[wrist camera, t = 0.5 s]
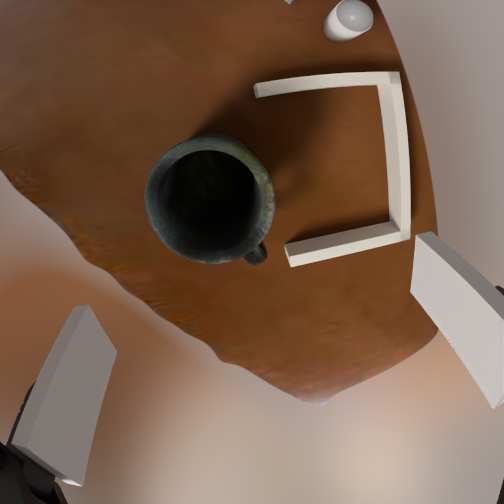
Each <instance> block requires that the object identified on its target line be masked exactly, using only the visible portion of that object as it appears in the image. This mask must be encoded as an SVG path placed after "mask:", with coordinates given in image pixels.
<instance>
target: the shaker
mask: <svg viewBox="0 0 504 504" xmlns="http://www.w3.org/2000/svg"><path fill="white" fill-rule="evenodd" d="M372 24H373V13H372V11H371V9H370V8H369V6H368V5H367V4H365V3H364V2H362V1H359V0H343V1H341V2H340V3H339V4H338V5H337V6H336V7H335V8H334V9H333V10H332V11H331V12H330V13H329V15H328V16H327V17H326V18H325V19H324V21H323V23H322V31H323V33H324V35H325V36H326V37H327V38H328V39H330V40H331V41H333V42H336V43H345V42H347V41H349V40H351V39H353V38H355V37H356V36H358V35H360V34H362V33H364V32H365V31H367V30H369V29H370V28H371V26H372Z"/></svg>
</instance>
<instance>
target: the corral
mask: <svg viewBox="0 0 504 504" xmlns="http://www.w3.org/2000/svg"><path fill="white" fill-rule="evenodd" d="M362 85H377V87H378V93H379V99H380V106H381V113H382V121H383V129H384V138H385V148H386V160H387V173H388V192H389V222H385V223H380V224H376V225H371V226H366V227H362V228H357V229H353V230H348V231H344V232H339V233H334V234H330V235H325V236H321V237H316V238H311V239H307V240H302V241H298V242H293V243H289V244H284V245H285V251H286V255H287V258H288V261H289V263H290V266H291V267H294V266H298V265H303V264H307V263H312V262H316V261H320V260H325V259H329V258H333V257H338V256H342V255H346V254H350V253H355V252H359V251H363V250H367V249H371V248H376V247H380V246H384V245H388V244H392V243H396V242H400V241H404V240H408V239H410V215H411V197H410V165H409V148H408V136H407V126H406V116H405V108H404V100H403V93H402V87H401V81H400V75H399V72H354V73H337V74H324V75H314V76H304V77H296V78H288V79H281V80H274V81H268V82H262V83H256V84H255V85H254V86H253V87H254V92H255V96H256V98H260V97H266V96H271V95H278V94H284V93H291V92H298V91H306V90H314V89H324V88H334V87H347V86H362Z"/></svg>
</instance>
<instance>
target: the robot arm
mask: <svg viewBox="0 0 504 504" xmlns="http://www.w3.org/2000/svg"><path fill="white" fill-rule="evenodd" d="M410 292H411V293H412V294H413V296H414V297H415V298H416V299H417V301H418V302H419V303H420V304H421V306H422V307H423V308H424V310H425V311H426V312H427V314H428V315H429V316H430V317H431V319H432V320H433V321H434V323H435V324H436V325H437V327H438V328H439V329H440V331H441V332H442V333H443V335H444V336H445V338H446V339H447V340H448V341H449V343H450V344H451V346H452V347H453V349H454V350H455V352H456V353H457V355H458V356H459V357H460V359H461V360H462V362H463V363H464V365H465V366H466V367H467V369H468V371H469V372H470V374H471V375H472V377H473V378H474V380H475V381H476V383H477V384H478V386H479V387H480V389H481V390H482V392H483V394H484V395H485V397H486V399H487V400H488V402H489V404H490V405H491V407H492V409H494V408H496V407H498V406H499V405H500V404H502V403H503V402H504V289H503V288H501V287H500V286H496V287H494V286H493V285H492V284H491V283H490V282H489V281H488V280H487V279H485V277H484V276H482V275H481V274H480V273H479V272H478V271H477V270H476V269H475V268H474V267H472V266H471V265H470V264H469V263H468V262H467V261H466V260H465V259H463V258H462V257H461V256H460V255H459V254H458V253H457V252H455V251H454V250H453V249H452V248H451V247H449V246H448V245H447V244H446V243H445V242H443V241H442V240H441V239H440V238H439V237H437V236H436V235H435V234H434V233H432V232H431V231H430V232H426V233H422V234H418V235H416V241H415V254H414V264H413V274H412V282H411V290H410ZM116 355H117V351H116V349H115V348H114V346H113V345H112V343H111V341H110V340H109V338H108V337H107V335H106V333H105V332H104V330H103V329H102V327H101V325H100V324H99V322H98V320H97V318H96V317H95V315H94V313H93V312H92V310H91V308H90V306H89V305H82V306H77V307H74V309H73V310H72V312H71V314H70V316H69V318H68V319H67V321H66V323H65V325H64V327H63V329H62V330H61V332H60V334H59V336H58V338H57V340H56V342H55V343H54V345H53V347H52V349H51V351H50V353H49V355H48V357H47V359H46V361H45V363H44V365H43V367H42V370H41V372H40V374H39V376H38V378H37V380H36V381H35V382H34V384H33V385H32V386H31V387H30V389H29V390H28V392H27V394H26V396H25V399H24V401H23V402H24V404H22V406H21V408H20V413H18V416H17V418H16V421H15V423H14V426H13V428H12V431H11V434H10V437H9V439H8V442H7V444H6V446H5V445H3V444H2V443H1V442H0V504H68V503H67V501H66V499H65V497H64V495H63V492H62V490H61V488H60V486H59V485H58V483H56V482H55V481H54V480H55V476H56V477H58V478H59V479H61V480H62V481H64V482H66V483H69V484H73V485H78V486H83V482H84V477H85V472H86V467H87V462H88V458H89V453H90V449H91V444H92V440H93V436H94V432H95V428H96V424H97V420H98V416H99V412H100V409H101V405H102V401H103V398H104V394H105V391H106V387H107V384H108V380H109V377H110V374H111V370H112V367H113V364H114V361H115V358H116ZM497 504H504V480H503V483H502V487H501V491H500V495H499V498H498V501H497Z"/></svg>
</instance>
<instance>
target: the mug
mask: <svg viewBox="0 0 504 504" xmlns="http://www.w3.org/2000/svg"><path fill="white" fill-rule="evenodd" d="M145 207H146V213H147V216H148V219H149V222H150V224H151V226H152V228H153V230H154V232H155V233H156V235H157V236H158V238H159V239H160V240H161V241H162V242H163V243H164V244H165V245H166V246H167V247H168V248H169V249H171V250H172V251H173V252H175V253H176V254H178V255H180V256H182V257H184V258H186V259H189V260H191V261H195V262H199V263H207V264H220V263H225V262H230V261H233V260H236V259H239V258H240V257H242V256H243V258H244V259H245V260H246V261H247V262H248V263H249V264H251V265H254V266H255V265H258V264H260V263H262V262H263V261H264V260H266V259H267V250H266V248H265V245H264V243H263V239H264V237H265V236H266V234H267V232H268V230H269V228H270V227H271V224H272V221H273V218H274V212H275V193H274V187H273V184H272V181H271V179H270V176H269V174H268V173H267V171H266V169H265V167H264V166H263V165H262V163H261V162H260V161H259V160H258V159H257V158H256V157H255V156H254V155H253V154H252V153H251V152H250V151H249V150H248V148H247V147H246V146H245V145H244V144H243V143H242V142H240V141H239V140H237V139H236V138H234V137H232V136H229V135H226V134H222V133H206V134H201V135H199V136H196V137H194V138H192V139H190V140H186V141H184V142H182V143H179V144H177V145H175V146H174V147H172V148H171V149H169V150H168V151H167V152H166V153H165V154H163V155H162V156H161V157H160V159H159V160H158V161H157V162H156V164H155V165H154V167H153V169H152V170H151V172H150V174H149V177H148V180H147V183H146V189H145Z"/></svg>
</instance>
